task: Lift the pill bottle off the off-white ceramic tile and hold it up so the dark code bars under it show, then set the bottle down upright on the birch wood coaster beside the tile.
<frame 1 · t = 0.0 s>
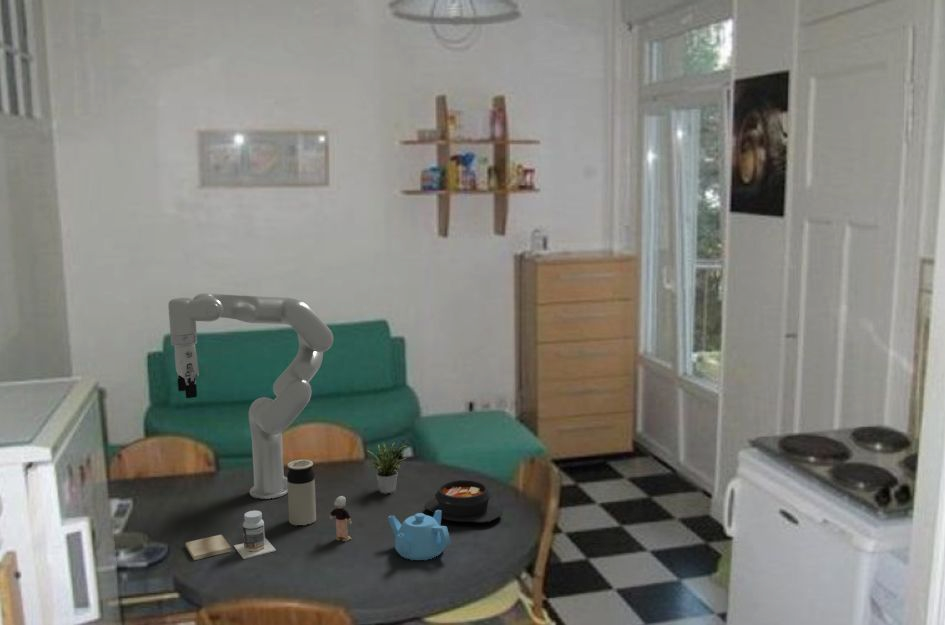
hand: (187, 393, 255), 37 cm above the table, tool pointing down, fingers open, 9 cm apart
casserole: (463, 515, 254), on the table
travel mug: (302, 521, 251), on the table
grandmother figurine: (341, 539, 238), on the table
coaster: (208, 549, 232), on the table
pill bottle: (254, 548, 232), resting on code tile
house plant: (391, 491, 274), on the table
code tile: (254, 548, 232), on the table
teapot: (419, 552, 230), on the table
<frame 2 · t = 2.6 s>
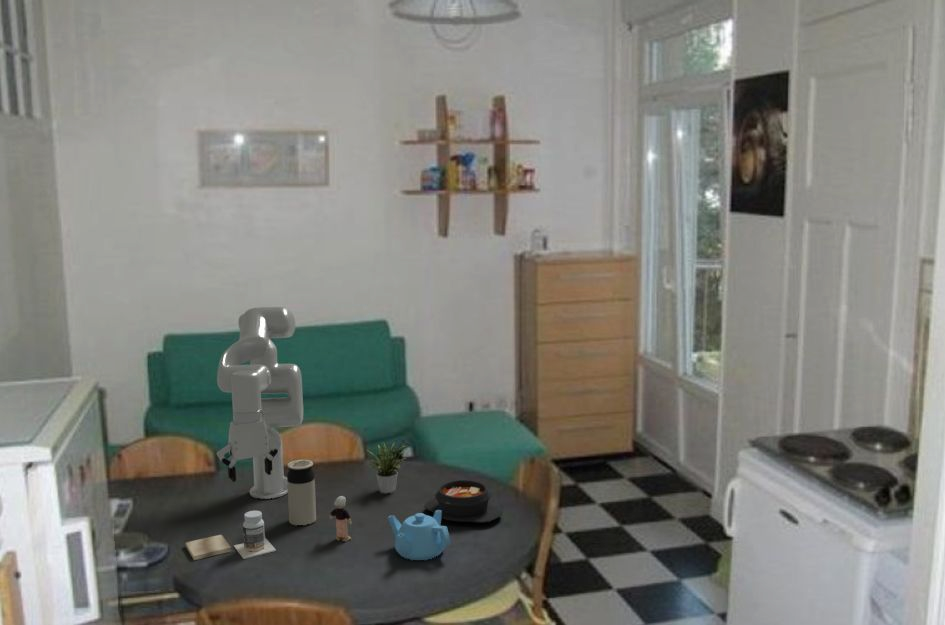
hand: (250, 476, 228), 21 cm above the table, tool pointing down, fingers open, 9 cm apart
nothing on the table moved.
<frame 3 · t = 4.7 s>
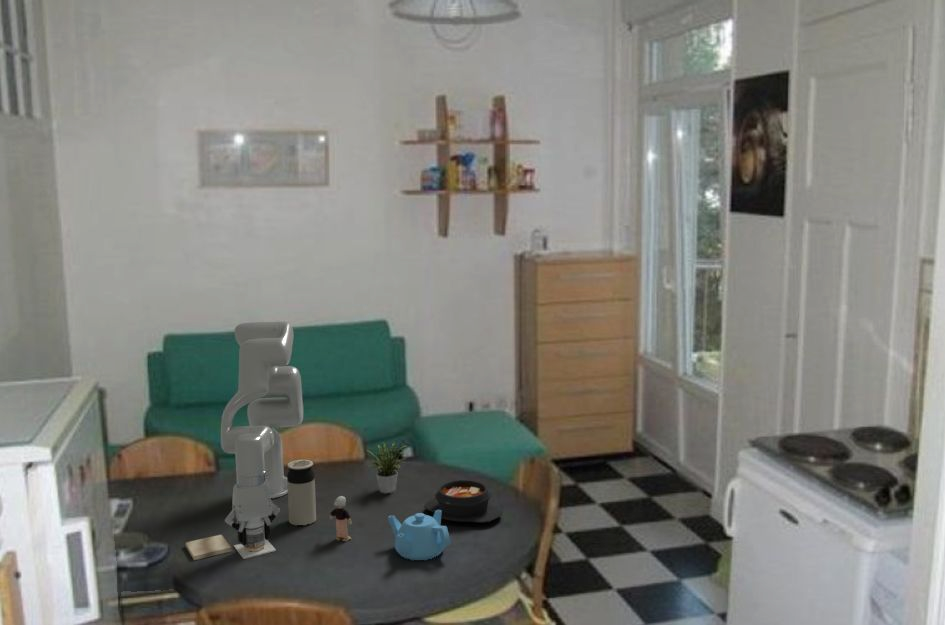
hand: (254, 540, 232), 3 cm above the table, tool pointing down, fingers closed on pill bottle, 5 cm apart
pill bottle: (254, 548, 232), resting on code tile, touching gripper
everything else where it was.
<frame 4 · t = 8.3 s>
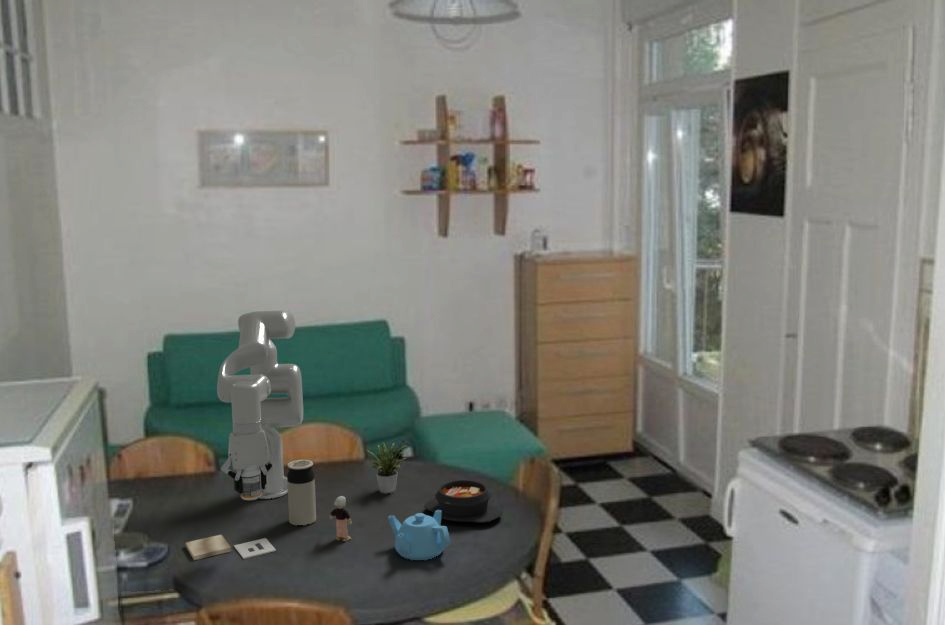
hand: (250, 489, 229), 17 cm above the table, tool pointing down, fingers closed on pill bottle, 5 cm apart
pill bottle: (251, 497, 230), point 15 cm above the table, touching gripper
everything else where it was.
when the fingers open (4 cm above the table, at t = 12.0 s): pill bottle stays where it is, resting on coaster.
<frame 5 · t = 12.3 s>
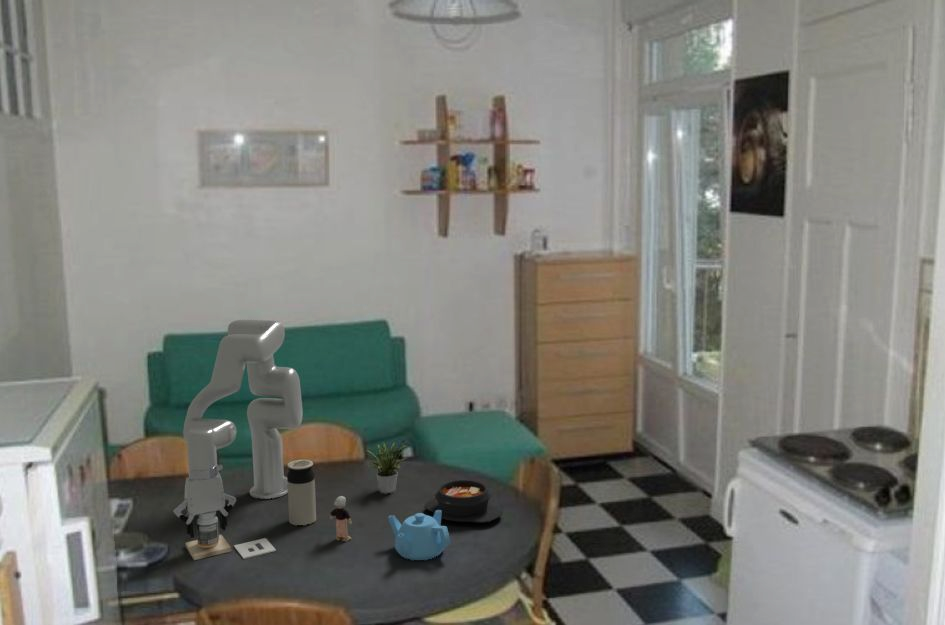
hand: (207, 532, 232), 5 cm above the table, tool pointing down, fingers open, 8 cm apart
pill bottle: (208, 545, 232), point 1 cm above the table, touching coaster
everything else where it was.
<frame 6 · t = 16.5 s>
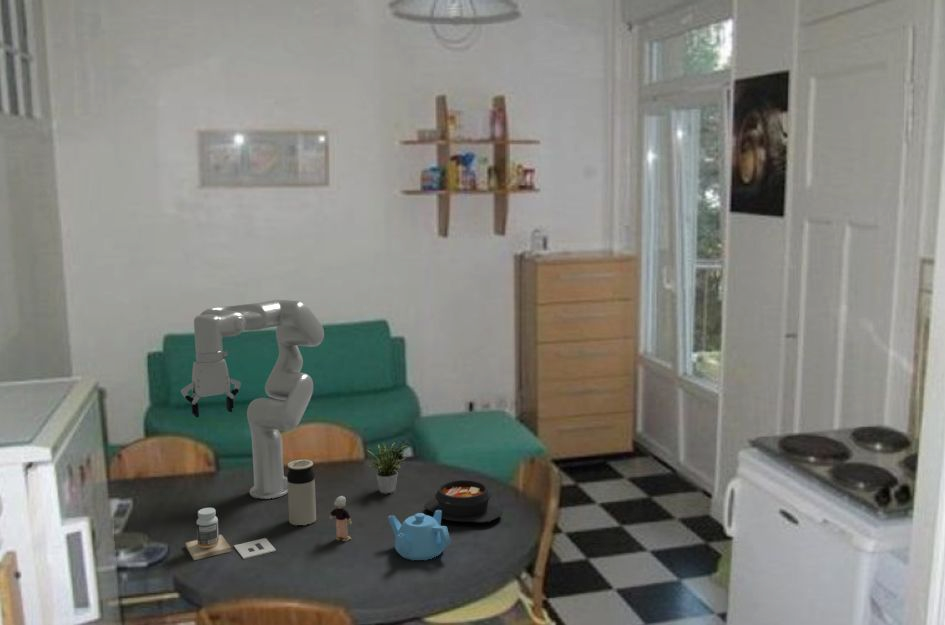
hand: (213, 413, 246), 33 cm above the table, tool pointing down, fingers open, 9 cm apart
nothing on the table moved.
at the end: pill bottle inside the target area on the coaster (0.2 cm from its centre), point 1.0 cm above the coaster's base; pill bottle tilted 0°; the gripper is holding nothing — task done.
